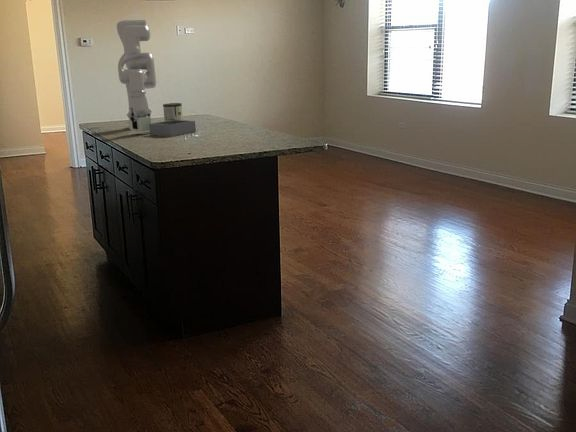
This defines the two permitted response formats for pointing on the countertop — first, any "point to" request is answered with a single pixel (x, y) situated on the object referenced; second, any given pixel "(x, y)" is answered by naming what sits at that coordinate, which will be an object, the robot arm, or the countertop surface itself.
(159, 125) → the charcoal crate
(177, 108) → the coffee can
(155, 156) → the countertop surface
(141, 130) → the sage crate
